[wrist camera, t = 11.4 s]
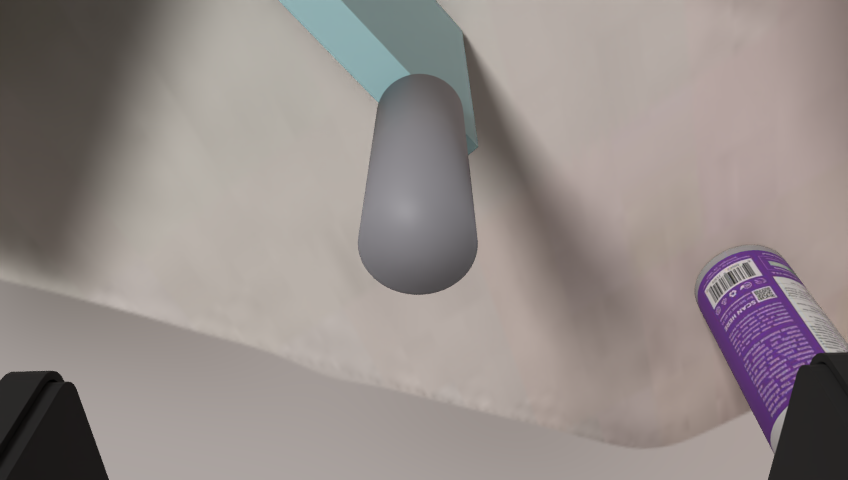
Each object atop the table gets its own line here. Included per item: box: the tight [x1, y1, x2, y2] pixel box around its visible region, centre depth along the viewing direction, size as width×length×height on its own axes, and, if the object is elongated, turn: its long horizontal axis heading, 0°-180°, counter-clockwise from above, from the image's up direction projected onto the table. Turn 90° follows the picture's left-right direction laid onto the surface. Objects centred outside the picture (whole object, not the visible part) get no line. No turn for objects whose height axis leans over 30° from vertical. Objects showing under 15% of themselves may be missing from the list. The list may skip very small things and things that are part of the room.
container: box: [695, 245, 848, 454], centre depth 33 cm, size 5×5×15 cm
